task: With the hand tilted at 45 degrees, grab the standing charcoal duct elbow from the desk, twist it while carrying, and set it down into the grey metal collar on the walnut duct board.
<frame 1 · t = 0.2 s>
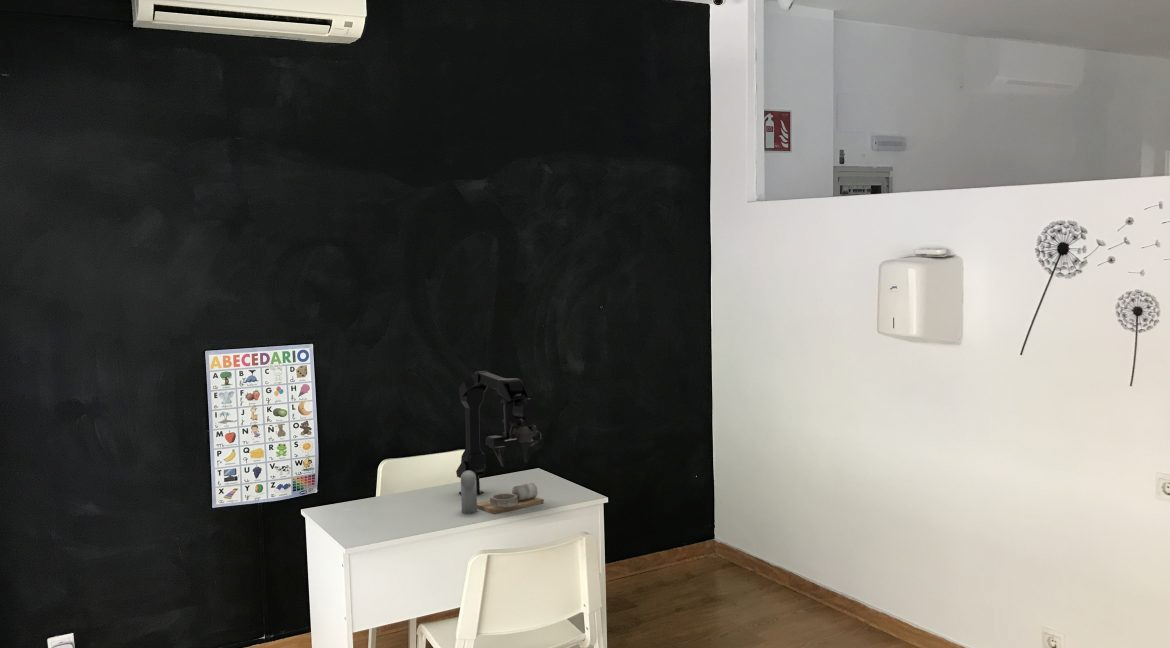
hand: (514, 464, 297), 14 cm above the table, tool pointing down, fingers open, 9 cm apart
elbow: (469, 511, 295), on the table
duct board: (504, 507, 299), on the table
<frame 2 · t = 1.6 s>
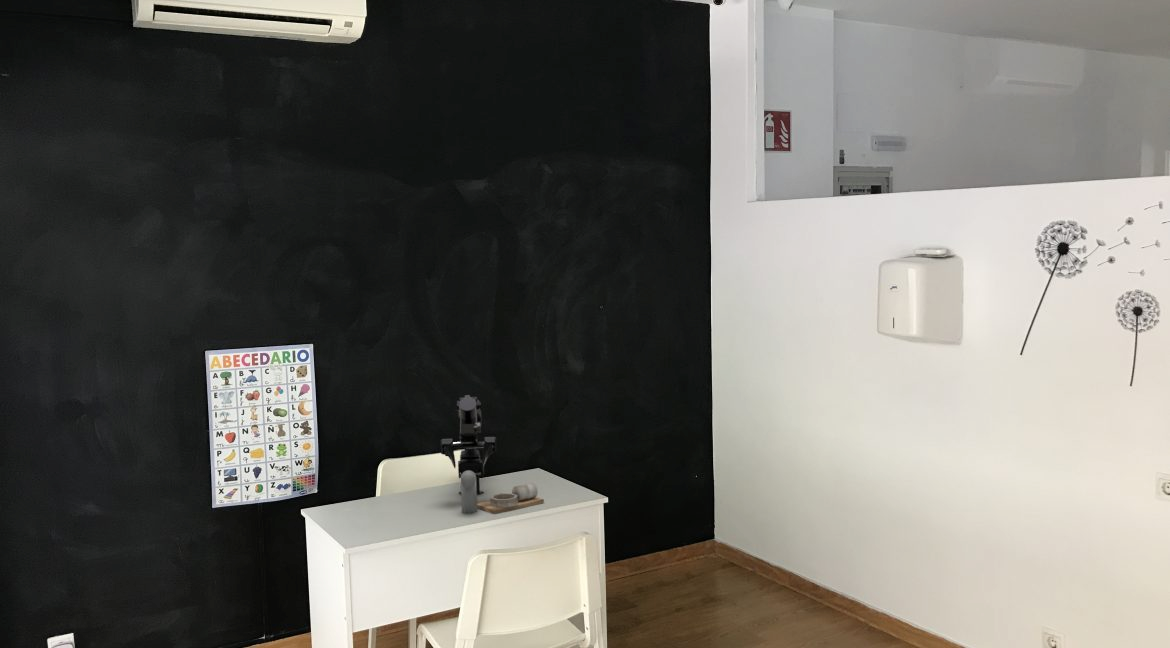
hand: (468, 466, 300), 14 cm above the table, tool tilted 45°, fingers open, 9 cm apart
nothing on the table moved.
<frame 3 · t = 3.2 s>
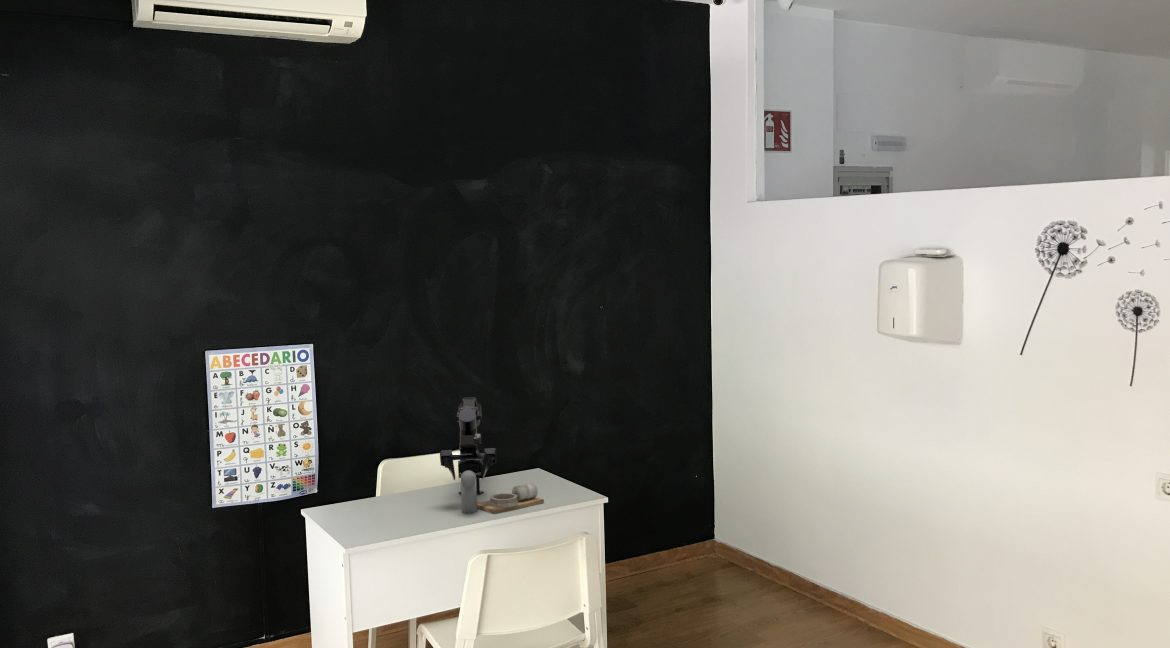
hand: (468, 478, 297), 10 cm above the table, tool tilted 45°, fingers open, 9 cm apart
nothing on the table moved.
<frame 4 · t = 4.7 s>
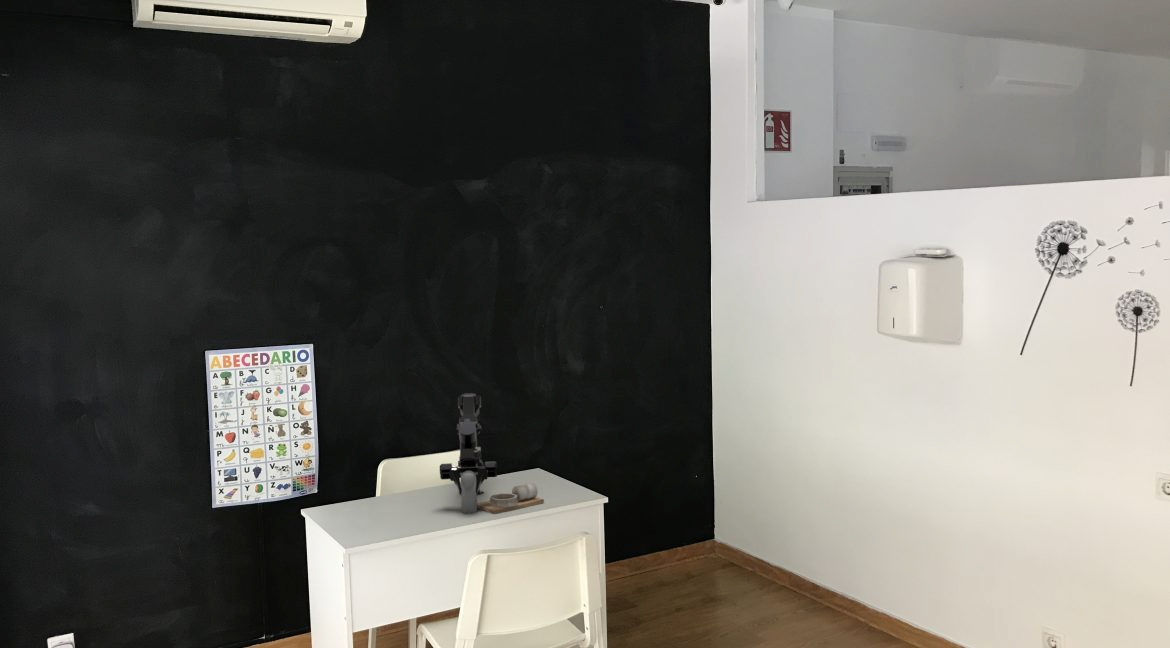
hand: (468, 492, 293), 7 cm above the table, tool tilted 45°, fingers closed on elbow, 5 cm apart
elbow: (469, 511, 295), on the table, touching gripper
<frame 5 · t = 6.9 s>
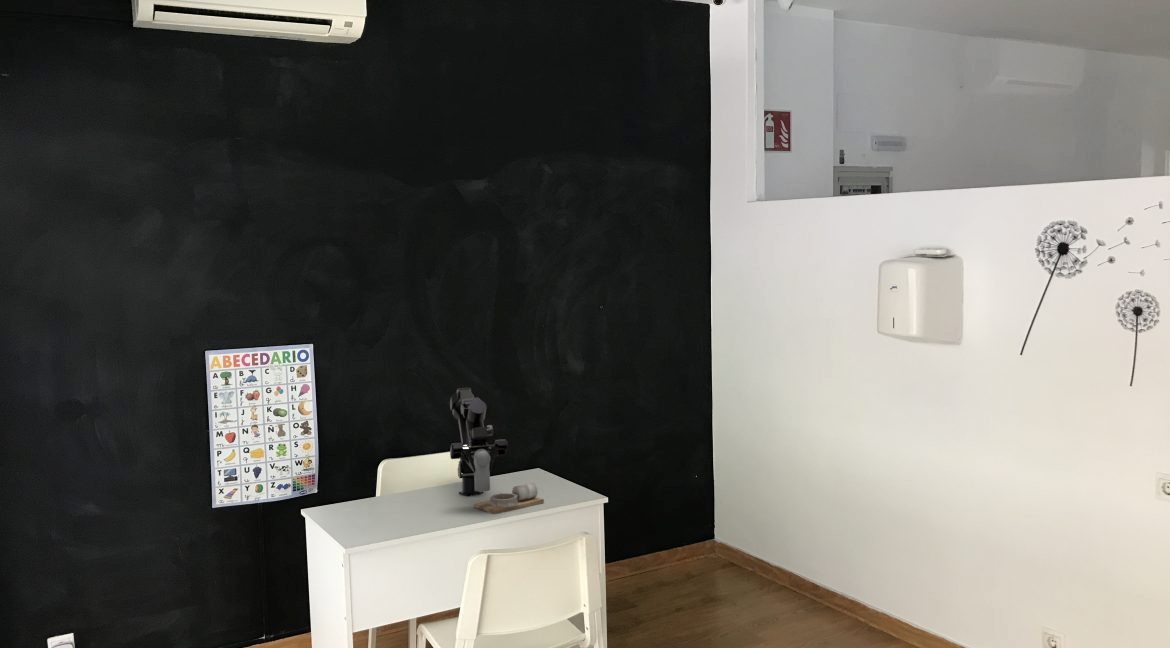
hand: (482, 470, 294), 13 cm above the table, tool tilted 45°, fingers closed on elbow, 5 cm apart
elbow: (482, 489, 295), point 7 cm above the table, touching gripper
when the fingers open (9 cm above the table, at t = 9.2 s): elbow drops 1 cm, resting on duct board.
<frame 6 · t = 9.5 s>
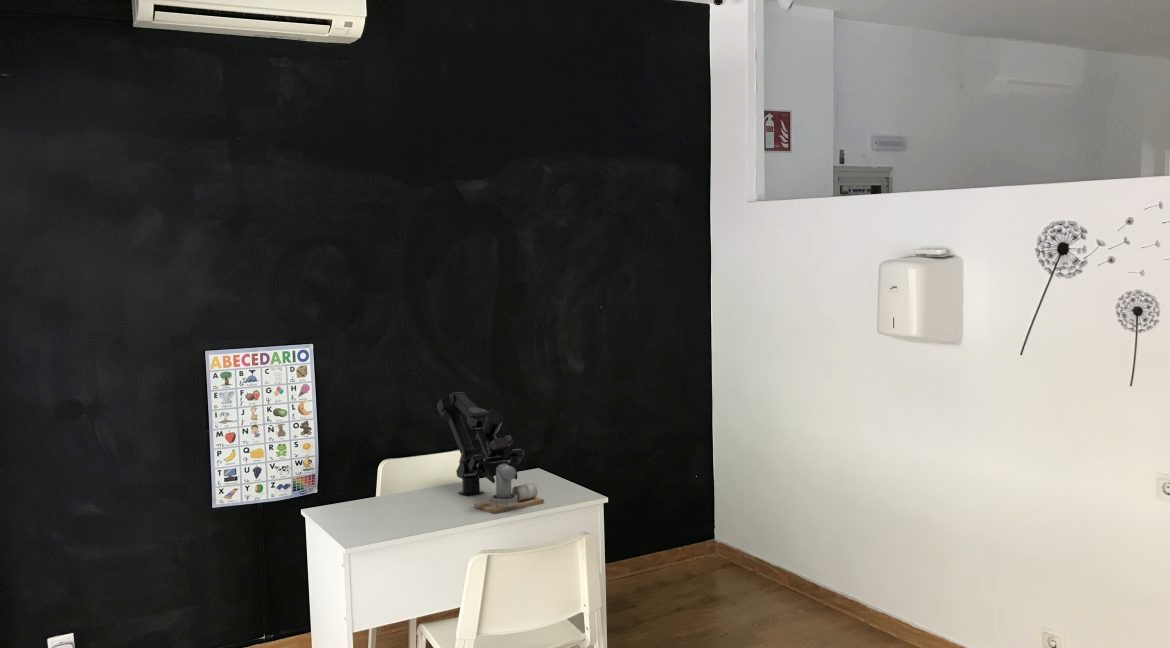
hand: (505, 480, 297), 9 cm above the table, tool tilted 45°, fingers open, 8 cm apart
elbow: (504, 503, 299), point 1 cm above the table, touching duct board
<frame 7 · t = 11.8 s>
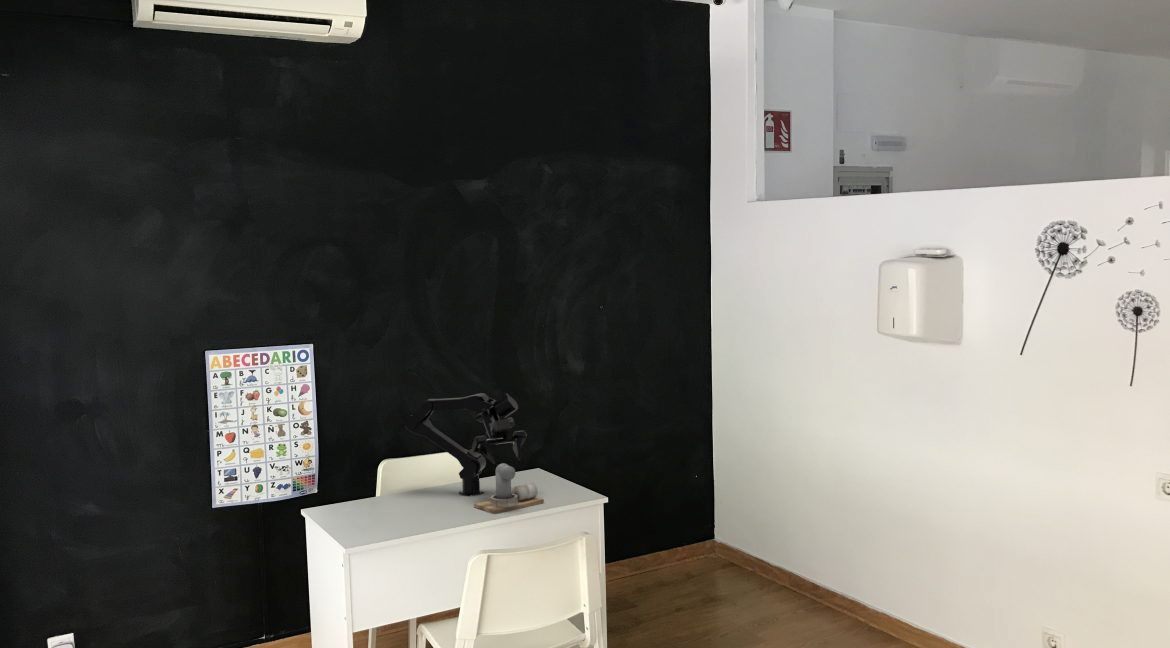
hand: (507, 461, 306), 14 cm above the table, tool tilted 45°, fingers open, 9 cm apart
nothing on the table moved.
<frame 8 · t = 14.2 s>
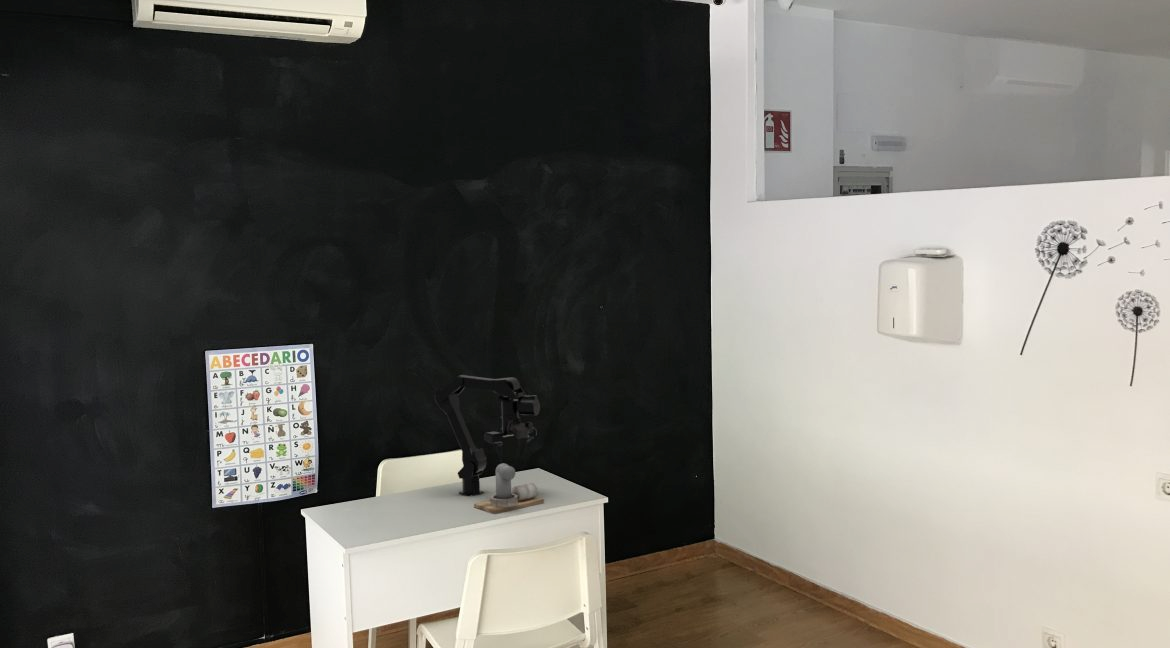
hand: (511, 459, 314), 13 cm above the table, tool pointing down, fingers open, 9 cm apart
nothing on the table moved.
at the end: elbow 0.1 cm off-centre on the duct board, point 1.2 cm above the duct board's base; elbow tilted 0°; the gripper is holding nothing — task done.
